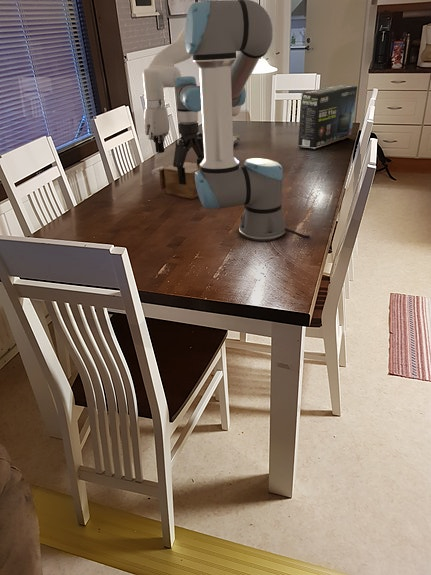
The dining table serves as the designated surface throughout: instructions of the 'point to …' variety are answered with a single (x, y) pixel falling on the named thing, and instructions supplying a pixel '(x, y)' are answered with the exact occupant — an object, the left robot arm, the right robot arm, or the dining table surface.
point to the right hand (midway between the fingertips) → (191, 179)
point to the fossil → (235, 138)
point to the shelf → (161, 175)
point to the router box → (326, 115)
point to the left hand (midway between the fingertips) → (160, 152)
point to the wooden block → (173, 180)
